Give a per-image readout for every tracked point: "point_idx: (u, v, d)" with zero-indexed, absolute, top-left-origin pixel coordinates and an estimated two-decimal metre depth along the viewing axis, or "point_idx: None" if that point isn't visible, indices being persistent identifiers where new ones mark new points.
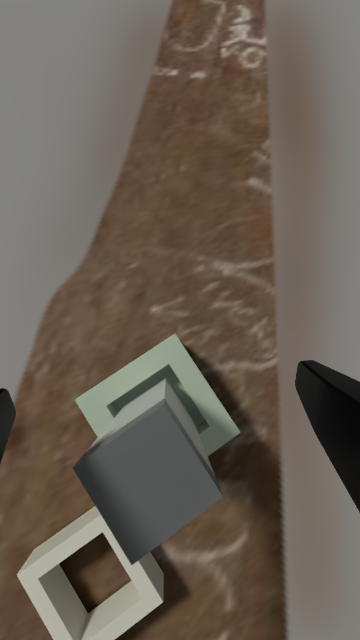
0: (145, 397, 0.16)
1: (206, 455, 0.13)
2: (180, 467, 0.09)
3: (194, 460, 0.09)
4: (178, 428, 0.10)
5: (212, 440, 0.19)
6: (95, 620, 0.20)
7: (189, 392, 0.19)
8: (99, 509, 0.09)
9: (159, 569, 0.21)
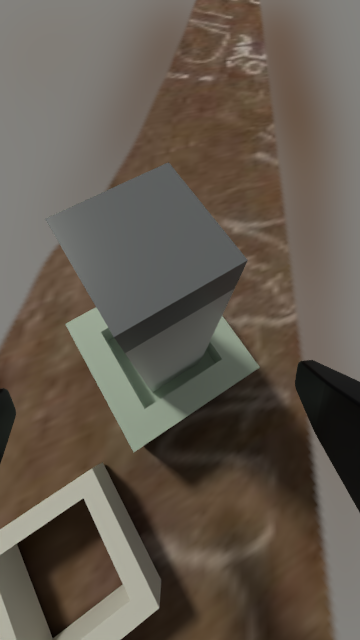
0: None
1: None
2: (188, 225, 0.07)
3: (206, 219, 0.07)
4: (186, 187, 0.07)
5: (225, 375, 0.16)
6: None
7: None
8: (74, 268, 0.07)
9: (155, 572, 0.16)
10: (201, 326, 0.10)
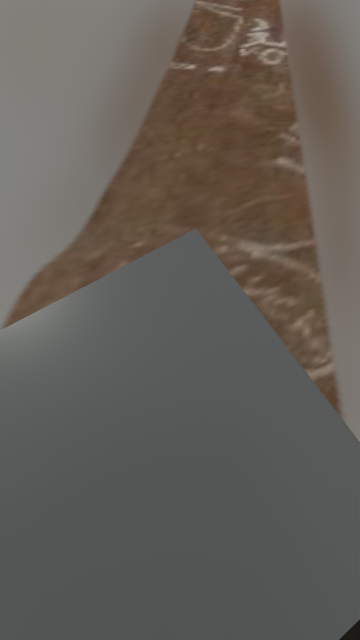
0: None
1: None
2: (256, 416, 0.03)
3: (303, 394, 0.03)
4: (241, 296, 0.03)
5: None
6: None
7: None
8: None
9: None
10: None
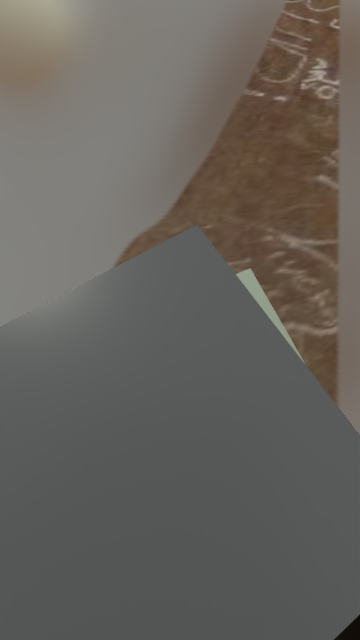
0: None
1: None
2: (257, 411, 0.03)
3: (305, 390, 0.03)
4: (242, 291, 0.03)
5: None
6: None
7: None
8: None
9: None
10: None
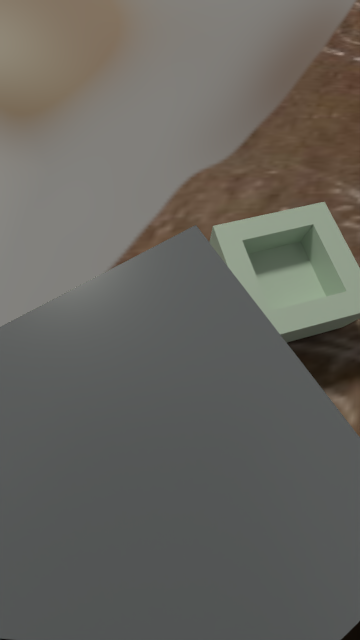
0: None
1: None
2: (257, 414, 0.03)
3: (304, 393, 0.03)
4: (241, 292, 0.03)
5: (347, 305, 0.17)
6: None
7: (330, 254, 0.18)
8: None
9: None
10: None
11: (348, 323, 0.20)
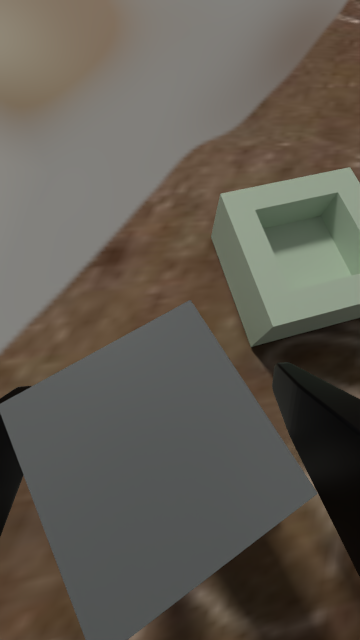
0: None
1: None
2: (221, 420, 0.04)
3: (249, 407, 0.04)
4: (216, 344, 0.05)
5: None
6: None
7: (359, 225, 0.15)
8: (38, 503, 0.04)
9: None
10: None
11: None
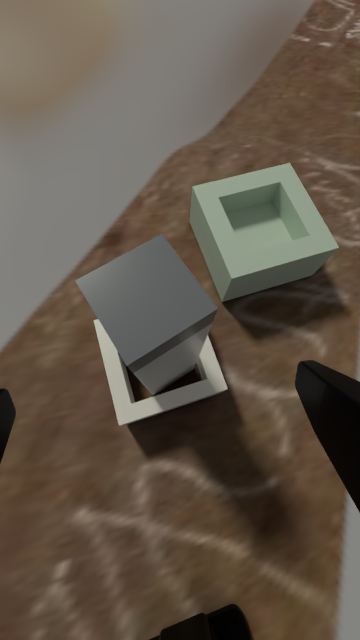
0: None
1: (205, 335, 0.13)
2: (176, 283, 0.10)
3: (189, 278, 0.10)
4: (174, 253, 0.10)
5: (310, 246, 0.20)
6: None
7: (295, 205, 0.21)
8: (97, 317, 0.09)
9: None
10: (190, 347, 0.13)
11: (316, 269, 0.23)
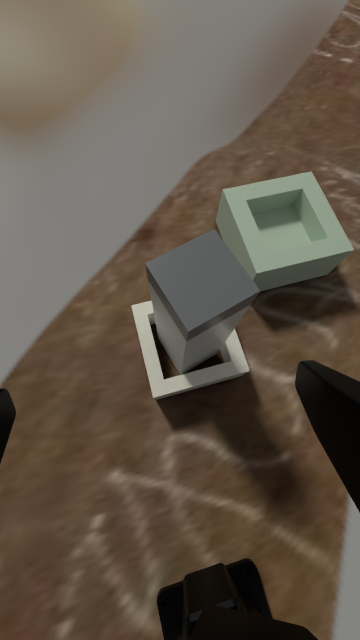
0: None
1: (239, 317, 0.15)
2: (226, 268, 0.12)
3: (237, 265, 0.12)
4: (224, 245, 0.13)
5: (328, 247, 0.22)
6: None
7: (315, 210, 0.23)
8: (164, 292, 0.12)
9: None
10: (227, 326, 0.15)
11: (331, 269, 0.25)
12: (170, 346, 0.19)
